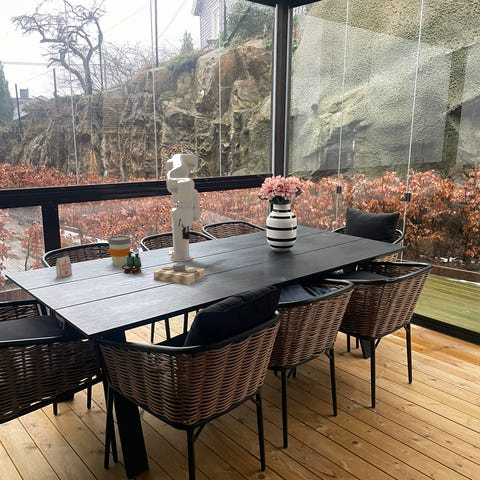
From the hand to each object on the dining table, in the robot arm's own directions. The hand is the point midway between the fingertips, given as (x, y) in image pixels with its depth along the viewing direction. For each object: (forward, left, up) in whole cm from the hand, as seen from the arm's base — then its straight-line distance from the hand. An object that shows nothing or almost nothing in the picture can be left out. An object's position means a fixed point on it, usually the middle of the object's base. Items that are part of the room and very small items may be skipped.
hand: (186, 238), depth 253 cm
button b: (-1, -6, -17) cm, 18 cm away
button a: (-8, -6, -19) cm, 22 cm away
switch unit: (-1, -6, -20) cm, 21 cm away
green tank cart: (-30, -8, -20) cm, 37 cm away
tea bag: (-59, -28, -20) cm, 68 cm away
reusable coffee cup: (-49, +6, -20) cm, 53 cm away
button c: (+6, -6, -19) cm, 21 cm away
